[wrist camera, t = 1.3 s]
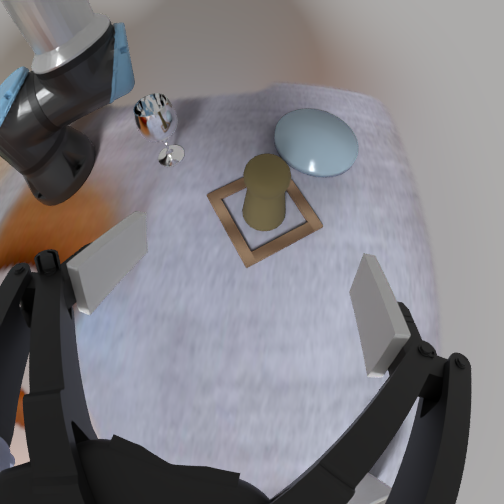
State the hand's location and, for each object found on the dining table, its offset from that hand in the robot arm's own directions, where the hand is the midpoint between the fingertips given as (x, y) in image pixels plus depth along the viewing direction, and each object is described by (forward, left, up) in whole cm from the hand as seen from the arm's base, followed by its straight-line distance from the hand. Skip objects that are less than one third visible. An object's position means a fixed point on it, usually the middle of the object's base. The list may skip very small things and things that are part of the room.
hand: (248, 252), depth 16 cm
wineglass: (-25, -1, -20) cm, 32 cm away
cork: (-9, +7, -20) cm, 23 cm away
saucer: (-16, +21, -20) cm, 33 cm away
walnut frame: (-9, +7, -20) cm, 23 cm away
